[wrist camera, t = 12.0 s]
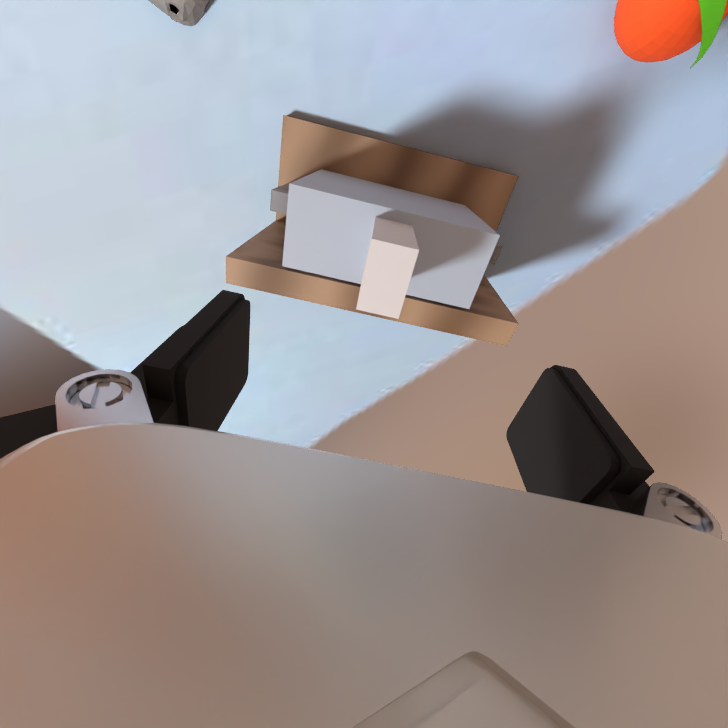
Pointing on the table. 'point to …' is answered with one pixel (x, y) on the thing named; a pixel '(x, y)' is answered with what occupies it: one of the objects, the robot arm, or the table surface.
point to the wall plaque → (183, 10)
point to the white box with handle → (386, 241)
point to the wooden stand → (391, 168)
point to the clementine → (666, 27)
